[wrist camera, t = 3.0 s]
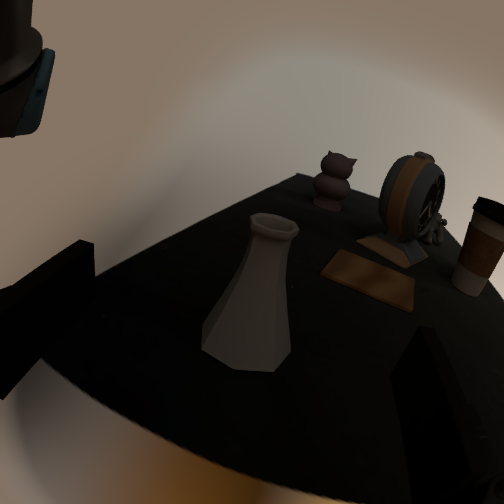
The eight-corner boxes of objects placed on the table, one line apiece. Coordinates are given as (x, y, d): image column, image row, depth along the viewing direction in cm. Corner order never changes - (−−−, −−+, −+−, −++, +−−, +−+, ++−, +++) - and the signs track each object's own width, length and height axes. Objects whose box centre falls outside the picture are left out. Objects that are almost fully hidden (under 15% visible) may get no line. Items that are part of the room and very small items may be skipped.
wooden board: (319, 275, 37) (320, 272, 37) (339, 251, 45) (340, 248, 45) (411, 313, 33) (412, 310, 33) (413, 281, 41) (414, 279, 41)
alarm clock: (401, 270, 44) (440, 157, 36) (352, 242, 50) (383, 137, 43) (429, 256, 53) (460, 167, 45) (389, 234, 59) (415, 150, 52)
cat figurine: (300, 199, 68) (313, 146, 63) (322, 199, 73) (334, 150, 68) (330, 214, 63) (346, 157, 57) (350, 212, 68) (365, 161, 62)
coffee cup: (492, 300, 41) (528, 218, 34) (467, 301, 38) (506, 208, 32) (463, 275, 48) (493, 199, 42) (435, 273, 46) (468, 188, 39)
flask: (295, 327, 27) (329, 220, 23) (282, 386, 21) (330, 260, 16) (216, 304, 28) (235, 195, 24) (184, 355, 21) (200, 224, 17)
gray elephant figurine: (442, 245, 63) (454, 214, 59) (430, 253, 54) (444, 217, 51) (409, 228, 68) (420, 198, 65) (392, 234, 60) (404, 199, 57)
